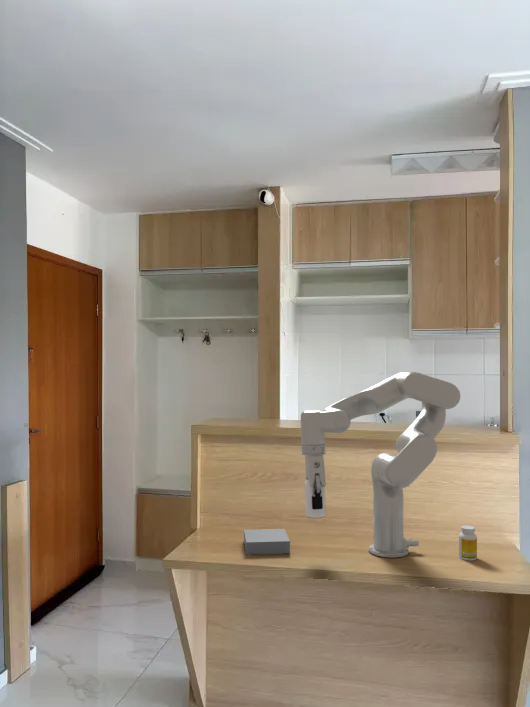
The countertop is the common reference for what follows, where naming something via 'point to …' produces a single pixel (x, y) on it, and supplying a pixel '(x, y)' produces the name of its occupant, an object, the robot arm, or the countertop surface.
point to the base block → (266, 541)
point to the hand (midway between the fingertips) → (315, 505)
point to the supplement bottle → (468, 543)
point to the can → (308, 502)
